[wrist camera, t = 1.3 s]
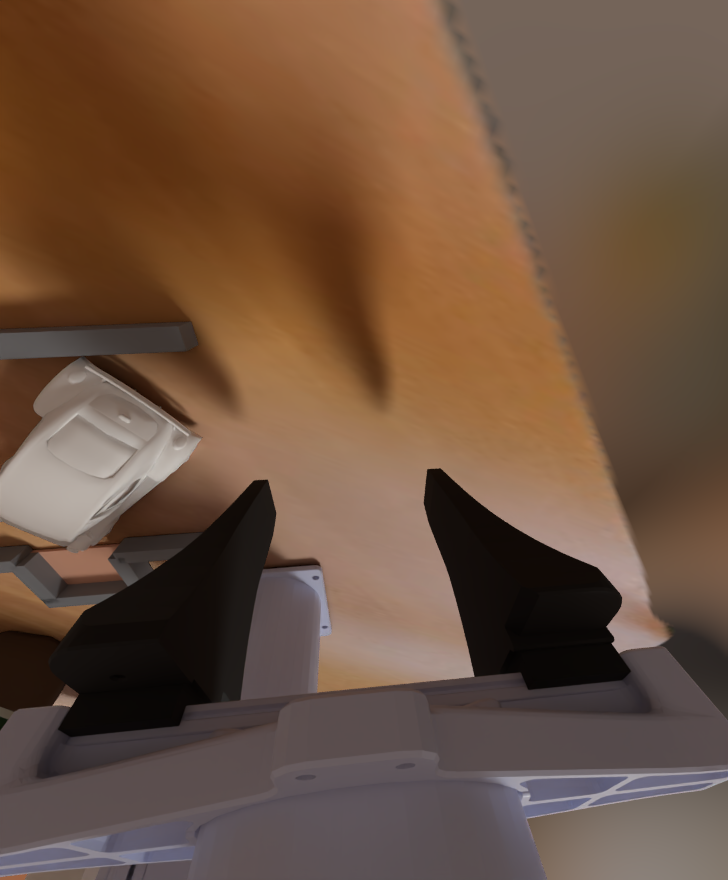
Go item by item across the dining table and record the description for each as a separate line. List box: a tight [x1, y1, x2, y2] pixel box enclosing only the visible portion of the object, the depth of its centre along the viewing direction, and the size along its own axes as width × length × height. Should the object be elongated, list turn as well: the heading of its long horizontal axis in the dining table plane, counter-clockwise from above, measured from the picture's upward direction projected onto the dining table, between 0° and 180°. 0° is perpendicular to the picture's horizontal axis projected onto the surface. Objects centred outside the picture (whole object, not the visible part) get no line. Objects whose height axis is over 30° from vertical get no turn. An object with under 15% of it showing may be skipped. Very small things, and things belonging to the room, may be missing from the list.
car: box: [0, 356, 203, 553], centre depth 14 cm, size 12×6×5 cm, turn 132°
